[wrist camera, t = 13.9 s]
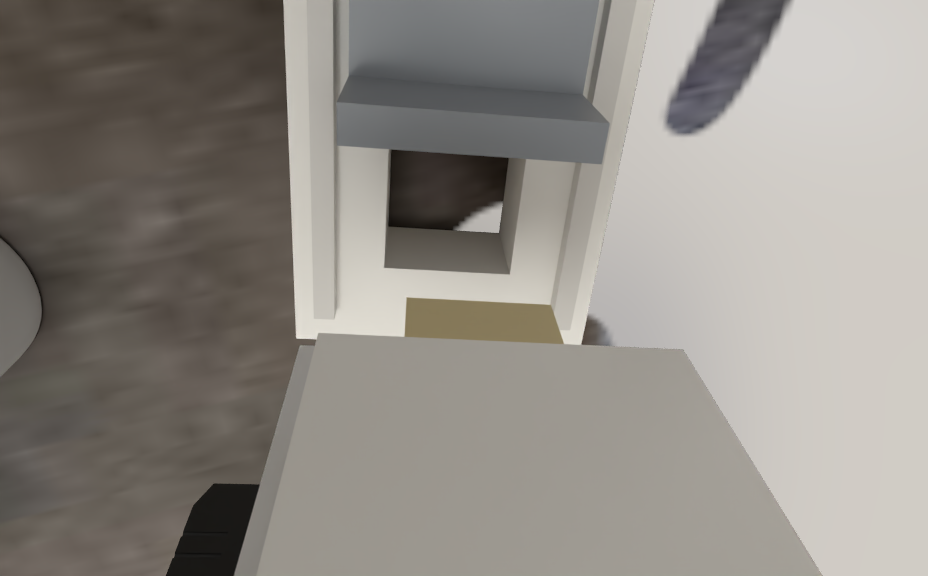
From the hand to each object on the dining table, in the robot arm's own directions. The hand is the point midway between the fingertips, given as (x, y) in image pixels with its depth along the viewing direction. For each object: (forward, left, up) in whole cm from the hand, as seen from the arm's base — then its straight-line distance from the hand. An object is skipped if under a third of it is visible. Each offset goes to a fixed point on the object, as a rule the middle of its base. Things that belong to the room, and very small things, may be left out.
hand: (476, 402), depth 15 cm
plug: (0, 0, -2) cm, 2 cm away
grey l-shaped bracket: (-8, 0, -11) cm, 13 cm away
